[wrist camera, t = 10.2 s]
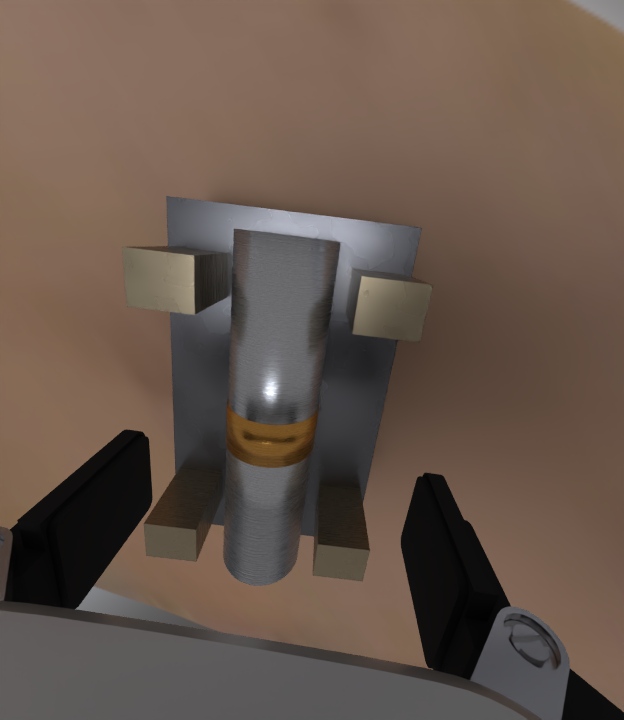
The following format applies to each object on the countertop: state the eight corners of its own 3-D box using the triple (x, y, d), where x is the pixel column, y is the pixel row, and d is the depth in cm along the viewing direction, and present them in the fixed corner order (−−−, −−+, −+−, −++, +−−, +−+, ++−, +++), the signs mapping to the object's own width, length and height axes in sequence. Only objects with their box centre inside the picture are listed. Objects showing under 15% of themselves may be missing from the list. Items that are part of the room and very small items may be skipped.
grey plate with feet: (396, 232, 19) (458, 221, 10) (348, 484, 25) (361, 610, 16) (206, 208, 18) (107, 177, 10) (205, 467, 25) (142, 584, 16)
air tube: (245, 230, 14) (218, 226, 10) (338, 242, 14) (346, 242, 10) (233, 515, 19) (212, 582, 16) (300, 522, 20) (296, 590, 16)
